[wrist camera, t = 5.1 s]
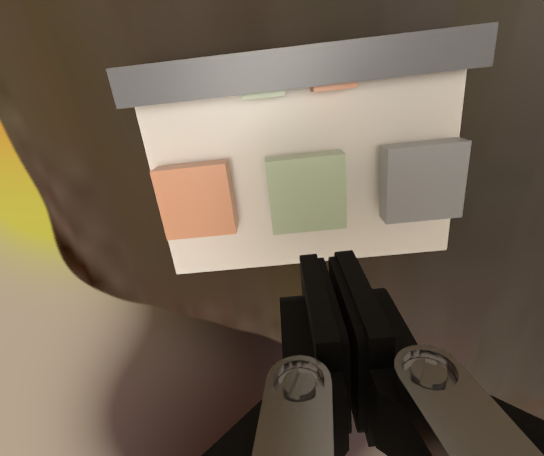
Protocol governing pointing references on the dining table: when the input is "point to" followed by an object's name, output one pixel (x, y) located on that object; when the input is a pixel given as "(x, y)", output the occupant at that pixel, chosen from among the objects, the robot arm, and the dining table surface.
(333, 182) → the sage key
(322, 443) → the robot arm
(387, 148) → the grey key
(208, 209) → the terracotta key
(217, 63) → the keypad
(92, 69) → the dining table surface
